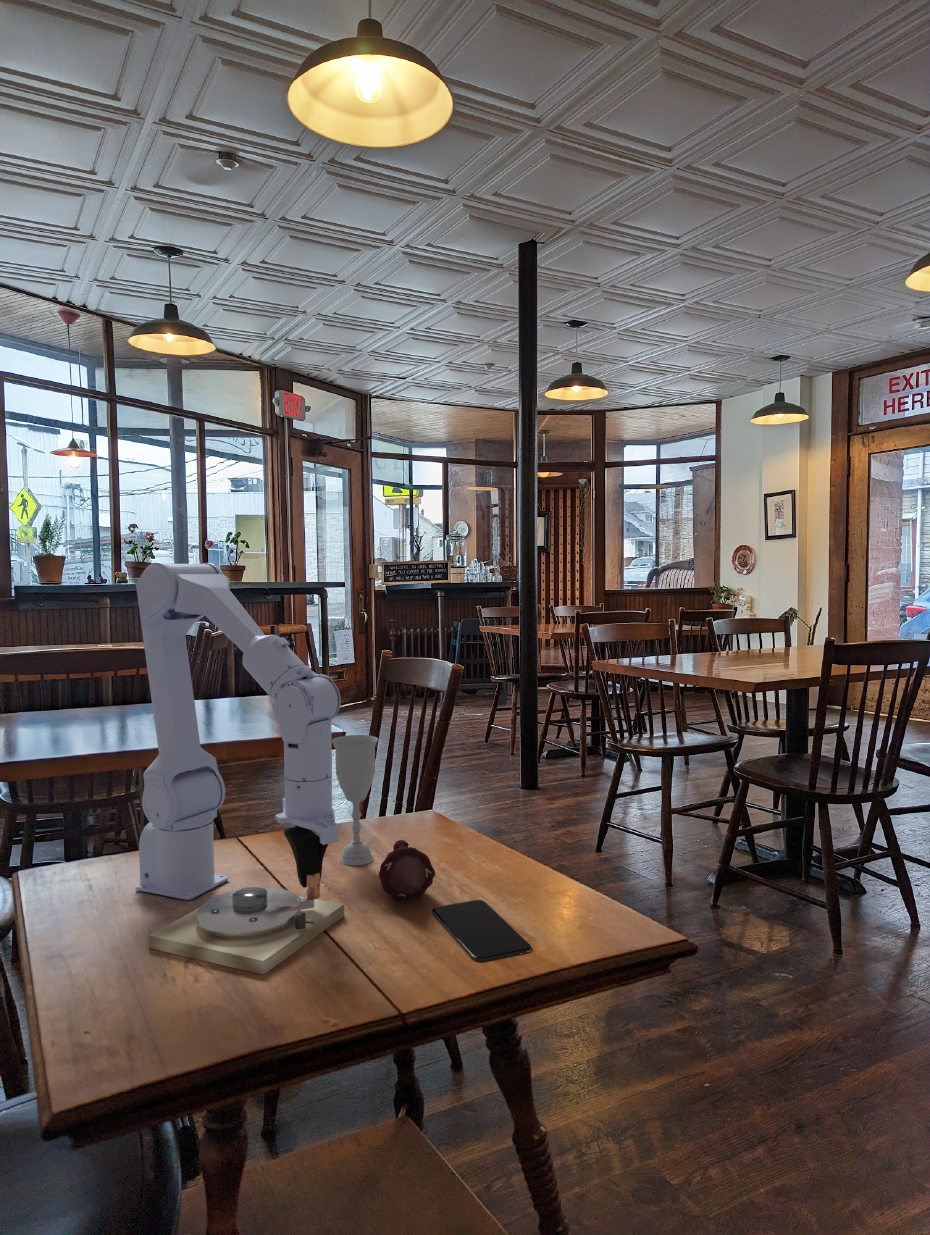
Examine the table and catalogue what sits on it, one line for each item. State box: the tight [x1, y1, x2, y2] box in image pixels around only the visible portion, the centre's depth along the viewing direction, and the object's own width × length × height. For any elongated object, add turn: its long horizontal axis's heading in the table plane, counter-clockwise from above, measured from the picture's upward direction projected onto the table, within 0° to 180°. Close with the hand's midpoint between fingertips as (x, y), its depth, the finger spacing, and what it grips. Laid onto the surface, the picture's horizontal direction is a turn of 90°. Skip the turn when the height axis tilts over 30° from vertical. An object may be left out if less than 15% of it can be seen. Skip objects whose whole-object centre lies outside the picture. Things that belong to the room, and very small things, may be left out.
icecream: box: [378, 839, 436, 902], centre depth 107 cm, size 7×7×15 cm
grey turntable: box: [197, 871, 321, 938], centre depth 97 cm, size 14×12×4 cm
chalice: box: [331, 734, 379, 867], centre depth 121 cm, size 7×7×18 cm
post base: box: [148, 885, 345, 976], centre depth 97 cm, size 16×16×3 cm
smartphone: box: [431, 899, 533, 963], centre depth 97 cm, size 7×1×15 cm
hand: (309, 884), depth 100 cm, fingers closed, pressing on grey turntable
